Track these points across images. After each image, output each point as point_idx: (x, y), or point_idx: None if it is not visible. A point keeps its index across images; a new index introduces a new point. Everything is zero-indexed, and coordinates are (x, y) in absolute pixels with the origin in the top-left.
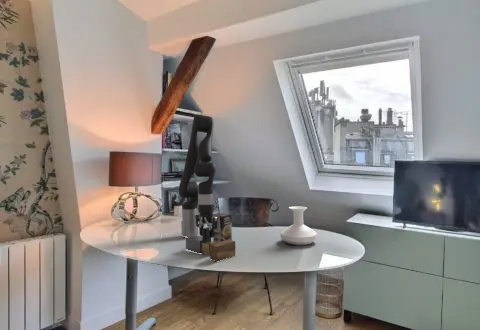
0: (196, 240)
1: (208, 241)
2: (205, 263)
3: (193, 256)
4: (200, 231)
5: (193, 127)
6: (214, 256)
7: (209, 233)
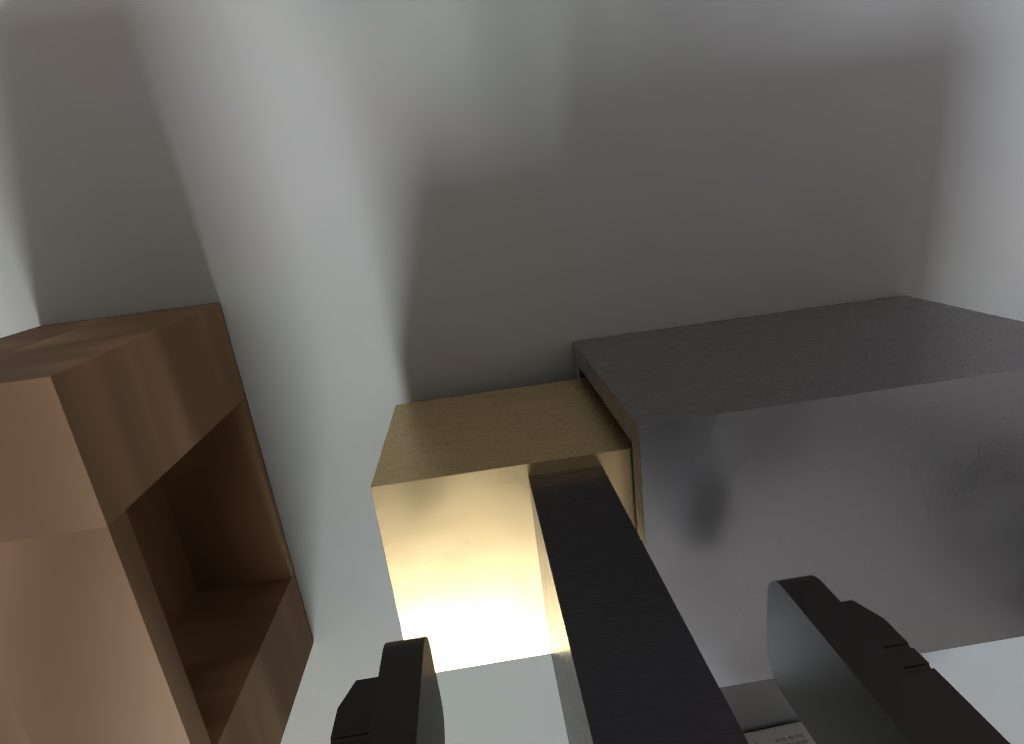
0: (758, 408)
1: (541, 586)
2: (103, 130)
3: (585, 217)
4: (863, 669)
5: None
6: (70, 332)
7: (402, 741)
